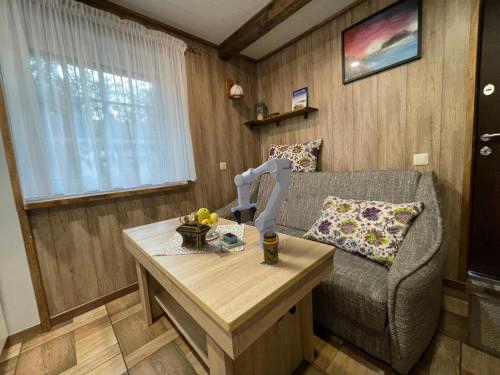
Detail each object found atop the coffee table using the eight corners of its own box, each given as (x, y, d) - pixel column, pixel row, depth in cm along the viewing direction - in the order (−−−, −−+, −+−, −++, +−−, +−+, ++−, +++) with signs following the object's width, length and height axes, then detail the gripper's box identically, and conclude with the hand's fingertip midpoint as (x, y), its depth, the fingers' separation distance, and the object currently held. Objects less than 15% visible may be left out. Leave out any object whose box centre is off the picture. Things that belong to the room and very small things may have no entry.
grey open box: (237, 243, 110) (237, 236, 109) (230, 246, 108) (229, 238, 107) (230, 239, 117) (229, 232, 117) (222, 241, 115) (222, 234, 114)
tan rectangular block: (233, 254, 98) (232, 246, 98) (221, 258, 95) (220, 250, 95) (224, 248, 106) (223, 241, 106) (213, 252, 103) (212, 244, 102)
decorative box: (213, 244, 112) (210, 208, 110) (200, 252, 104) (196, 212, 101) (185, 240, 122) (182, 206, 120) (172, 246, 114) (167, 210, 111)
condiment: (275, 267, 85) (273, 238, 83) (256, 263, 89) (254, 235, 88) (282, 259, 91) (280, 231, 90) (264, 256, 95) (262, 229, 94)
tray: (244, 244, 109) (244, 241, 109) (228, 250, 104) (227, 246, 104) (233, 238, 120) (232, 235, 120) (217, 242, 115) (217, 239, 115)
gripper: (251, 194, 119) (252, 218, 120) (227, 198, 111) (229, 224, 113) (258, 196, 113) (260, 221, 115) (234, 200, 105) (236, 227, 107)
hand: (245, 222), depth 113 cm, fingers open, 7 cm apart
